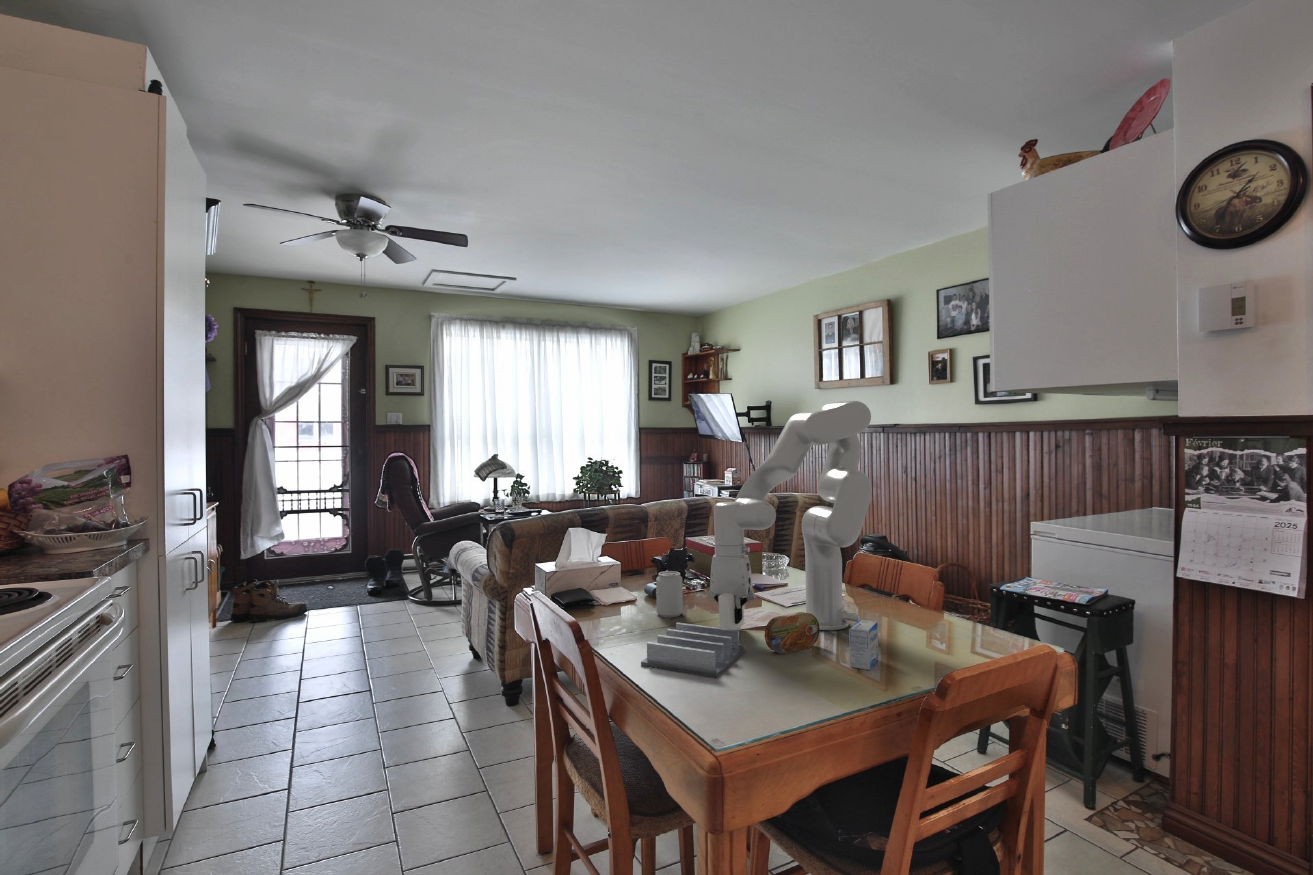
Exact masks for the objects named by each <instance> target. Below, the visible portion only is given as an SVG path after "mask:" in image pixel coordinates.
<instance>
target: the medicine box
mask: <svg viewBox="0 0 1313 875" xmlns="http://www.w3.org/2000/svg"><path fill="white" fill-rule="evenodd" d="M878 625H879V624H878V622H877V621H872V620H864V619H863V620H862V619H859V621H858V622H856V623H854V624H853V625H852V626H851V627H850V628H849V629H848V640H849V641H848V645H849V646H848V647H849V667H850V668H855V669H861V670H866V671H870V670H871V669H872V668H873V666H874V665H875V664H876V663H877V661H878V660H879V627H878Z"/></svg>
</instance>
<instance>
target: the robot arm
mask: <svg viewBox="0 0 1313 875" xmlns="http://www.w3.org/2000/svg"><path fill="white" fill-rule="evenodd" d="M871 420H872V413H871V410H870V408H869V407H868V406H867V404H865V403H864V402H861V401H858V400H847V401H833V402H829V403H826V404H825V405H823V406H822V407H821V408H820V410H818V411H808V412H807V411H806V412H798V413H794V414H793V415H791V417H789V419H788V420H787V422H786V424H785V425H784V427H783V428H782V431H781V432H780V434H779V437H778V438H777V440H776V442H775V444H774V445H773V447H772V449H771V451H770V452H769V454H768V456H767V458H766V459H765V460H764V461H763V462H762V463H761V464H760V465H759V466H758V467H757V468H756V469H755V470H754V471H753V472H752V473H751V474H750V475H749V476H748V477H747V479H746V480H745V482H744V483H743V485H742V486H741V488H740V489H739V491H738V493H737V495H736V497H735V499H734V501H719V502H717V503H715V504H714V505H713V530H714V532H713V533H714V554H713V555H712V558H711V565H710V581H709V582H710V583H709V585H710V586H709V587H708V588H709V589H708V590H707V593H706V594H707V596H708V597H710V598H712V599H714V600H715V601H716V602H717V604H719V602H718V597H719V596H720V595H722V594H723V593H730V594H733V596H735V599H736V608H735V609H734V612H735V624H738V623H739V622H741V620H742V618H743V614H742V606H743V605H744V606H745V604H746V603H747V602H750V601H753V600H755V599H756V594H755V592H754V590H753V589H754V588H753V578H752V577H753V576H752V569H751V564H750V558H749V555H748V554H746V553H750V549H751V548H750V546H746V543H745V530H752V531H753V530H756V531H760V530H762V531H763V530H767V529H769V528H771V526H772V525H774V524H775V521H776V519H777V518H776V517H777V511H776V509H775V508H774V506H773V505H772V504H771V503H770V502H768V501H765V499H766V497H767V496H768V494H769V493H770V492H771V491H772V490H773V489H775V487H776V488H777V486H778V485H781V484H782V483H784V482H786V481H789V480H790V479H791V478H793V477H794V476H795V475H796V474H797V473H798V472H799V469H800V468H801V466H802V463H803V461H804V460H805V458H806V456H807V454H808V452H810V449H811V447H812V445H813V446H822V445H826V444H828V451H827V455H826V459H825V463H824V465H823V468H822V471H821V475H820V477H819V480H818V485H817V493H818V495H819V496H820V498H821V499H822V500H823V501H826V502H828V503H832V504H833V507H832V506H831V507H830V506H827V505H826V506H825V505H816V506H812V507H810V508H808V509H807V510H806V511H805V512H804V514H803V516H802V520H801V533H802V538H803V543H804V555H805V556H804V557H805V558H804V559H805V564H804V565H805V568H804V569H805V572H804V574H805V613H810V614H812V615H814V616H815V617H816V619H817V620H818V623H819V628H820V631H821V630H822V631H837V630H838V631H839V630H842V629H843V630H844V629H846V628H848V627H849V621H850V622H856V623H857V622H858V621H859V620H860V613H859V614H858V613H857V612H851V611H847V610H846V606H844V605H843V558H842V551H841V548H848V547H849V546H852V545H853V544H855V543H856V541H857V540H858V539H859V536H860V535H861V531H862V528H863V525H864V522H865V518H866V516H867V512H868V509H869V506H870V503H871V500H872V493H873V490H872V489H873V488H872V482H871V480H870V478H869V476H868V475H867V474H866V473H864V472H863V471H862V470H861V471H860V470H858V468H859V463H860V460H861V453H862V446H861V442H860V440H859V436H858V434H860V433H862V432H864V431H866V429H867V428H868V427H869V425H870V424H871Z"/></svg>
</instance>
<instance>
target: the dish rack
mask: <svg viewBox="0 0 1313 875" xmlns="http://www.w3.org/2000/svg"><path fill="white" fill-rule="evenodd" d="M656 638H657V642H653V641H647V643H646V657H645V658H644V659H642V661H641V662H640V667H644V668H649V667H650V668H651V669H656V670H661V671H668V672H673V671H674V672H676V673H679V674H687V675H693V676H700V677H706V678H711V679H716V680H717V679H718V678H719V677H720V676H721V675H722V674H723V673H724V672H725V671H726V670H727V669H728V668H729V667H730V666H731V665H732V664H733V663H734V662H735V661H736V660H738V658H739V657H740V656H742V654H743V653H744V652H745V650H746V647H745V645H740V629H738V630H733V629H725V628H719V627H715V626H709V625H701V624H692V623H684V622H677V621H676V623H675V629H673V628H667V629H666V634H665V635H663V634H658V635H657V637H656Z"/></svg>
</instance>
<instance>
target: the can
mask: <svg viewBox="0 0 1313 875" xmlns="http://www.w3.org/2000/svg"><path fill="white" fill-rule="evenodd" d="M655 578H656V582H655V583H656V584H655V585H656V588H655V589H656V590H655V591H656V613H657V614H658V615H659V616H660V617H663V618H677V617H680V616H681V614H683V612H684V610H683V609H684V607H683V606H684V605H683V600H684V599H683V577H682V576H681V572H678V571H676V570H675V571H674V570H673V571H672V570H665V571H660V572H658V576H657V577H655Z"/></svg>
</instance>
